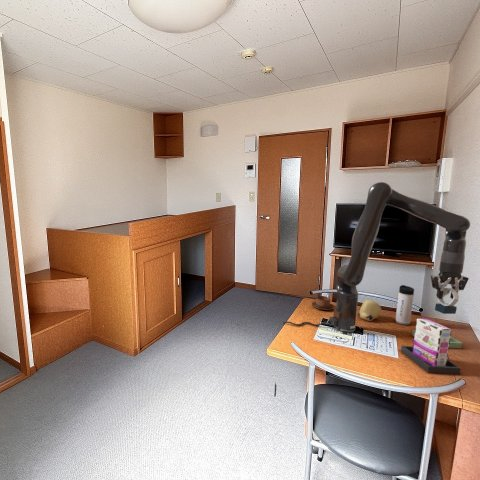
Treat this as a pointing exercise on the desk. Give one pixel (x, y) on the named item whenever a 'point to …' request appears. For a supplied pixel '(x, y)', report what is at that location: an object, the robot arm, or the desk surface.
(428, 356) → the candy bar box
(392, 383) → the desk surface
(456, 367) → the charcoal tray
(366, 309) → the yellow quince
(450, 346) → the sage tray
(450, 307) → the watch
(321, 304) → the cup and saucer
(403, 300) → the travel mug
